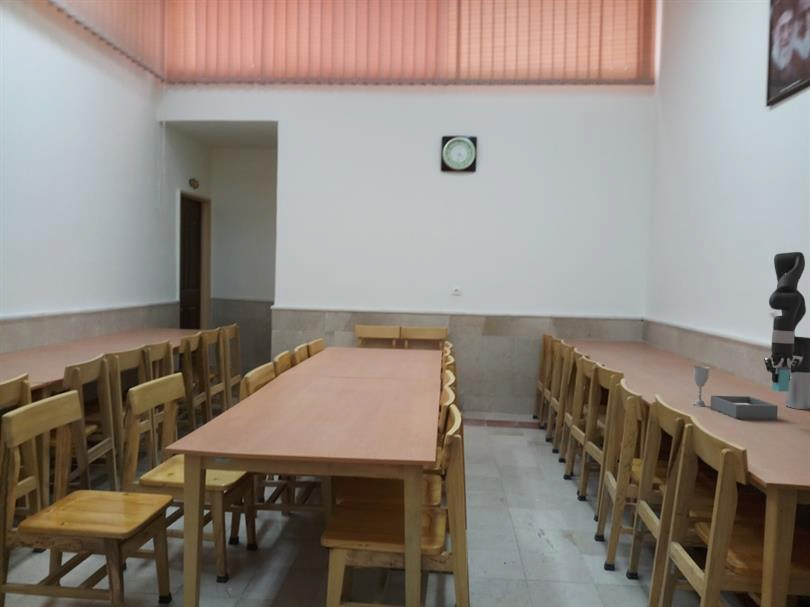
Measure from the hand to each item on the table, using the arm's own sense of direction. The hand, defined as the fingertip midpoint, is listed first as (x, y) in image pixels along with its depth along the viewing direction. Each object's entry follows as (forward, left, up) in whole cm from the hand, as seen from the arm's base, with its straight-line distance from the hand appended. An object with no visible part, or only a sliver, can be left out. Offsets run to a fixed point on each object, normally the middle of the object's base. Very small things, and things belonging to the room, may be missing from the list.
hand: (780, 382), depth 223 cm
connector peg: (0, 0, -3) cm, 3 cm away
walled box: (+5, -15, -17) cm, 23 cm away
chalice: (+15, -31, -17) cm, 39 cm away
